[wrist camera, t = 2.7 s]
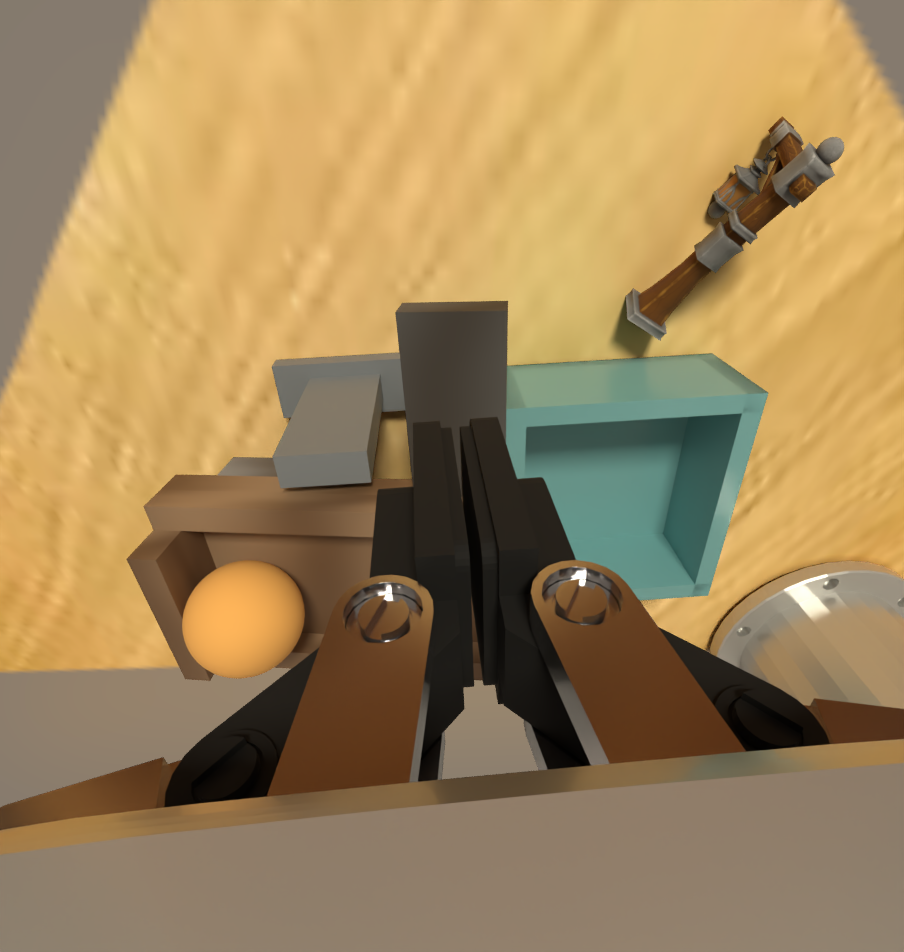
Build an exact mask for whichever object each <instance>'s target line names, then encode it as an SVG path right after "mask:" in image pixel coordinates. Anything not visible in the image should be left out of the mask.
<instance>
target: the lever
mask: <svg viewBox="0 0 904 952" xmlns="http://www.w3.org/2000/svg"><path fill="white" fill-rule="evenodd" d="M396 322H397V332H398V342H399V352H400V362H401V372H402V382H403V392H404V402H405V412H406V422H407V432H408V442H409V452H410V462H411V472H412V479H372V481H371V483H355V484H340V485H324V486H309V487H294V488H280V484H279V480H278V476H277V473H276V469H275V465H274V461H273V458H249V457H233V458H232V459H231V461H230V462H229V463H228V464H227V465H226V466H225V467H224V468H223V469H222V471H221V472H220V473H219V474H218V475H175V476H174V477H173V478H172V479H171V480H170V481H169V482H168V483H167V484H166V485H165V486H164V487H163V488H162V489H161V490H160V491H159V492H158V493H157V494H156V495H155V496H154V497H153V498H152V499H151V500H150V501H149V502H148V503H147V504H145V505H144V506H143V507H144V509H145V511H146V513H147V516H148V518H149V520H150V523H151V525H152V527H153V529H154V530H153V532H152V533H151V534H150V535H149V536H148V537H147V538H146V539H145V540H144V541H143V542H142V543H141V544H140V545H139V546H138V548H137V549H136V550H135V551H134V552H133V553H132V554H131V555H130V556H129V557H128V558H127V561H128V563H129V565H130V567H131V569H132V571H133V573H134V575H135V577H136V579H137V581H138V583H139V585H140V588H141V590H142V592H143V594H144V596H145V598H146V600H147V602H148V604H149V606H150V608H151V610H152V612H153V614H154V616H155V618H156V620H157V622H158V624H159V626H160V628H161V630H162V632H163V634H164V637H165V639H166V641H167V643H168V645H169V647H170V649H171V651H172V653H173V655H174V657H175V659H176V661H177V663H178V665H179V667H180V669H181V671H182V673H183V675H184V677H185V679H192V680H208V681H210V680H211V678H212V676H213V675H214V673H212V672H210V671H208V670H206V669H205V668H203V667H202V666H201V665H200V664H199V663H198V662H197V661H196V660H195V659H194V658H193V657H192V655H191V654H190V652H189V650H188V648H187V646H186V644H185V641H184V636H183V631H182V620H183V613H184V609H185V606H186V603H187V601H188V598H189V597H190V595H191V593H192V591H193V590H194V589H195V587H196V586H197V585H198V584H199V582H200V581H201V580H202V579H204V578H205V577H206V576H207V575H208V574H210V573H211V572H213V571H214V570H215V569H217V568H219V567H221V566H224V565H226V564H229V563H232V562H237V561H243V560H256V561H262V562H266V563H269V564H272V565H274V566H276V567H278V568H280V569H281V570H283V571H284V572H285V573H287V574H288V575H289V576H290V577H291V578H292V579H293V581H294V582H295V583H296V585H297V587H298V588H299V590H300V592H301V595H302V598H303V602H304V609H305V618H304V626H303V630H302V633H301V636H300V638H299V640H298V642H297V644H296V646H295V647H294V649H293V650H292V651H291V653H290V654H289V655H288V656H287V657H286V658H285V659H284V660H283V661H282V662H281V663H279V664H278V665H277V666H276V668H293V667H295V666H296V665H297V664H298V663H300V662H301V661H302V660H304V659H305V658H306V657H307V656H309V655H310V654H311V653H312V652H314V651H315V650H316V649H318V648H319V647H320V644H321V642H322V639H323V636H324V633H325V630H326V628H327V625H328V622H329V619H330V616H331V613H332V611H333V608H334V607H335V605H336V603H337V601H338V599H339V598H340V597H341V596H342V595H343V594H344V593H345V592H346V591H347V590H348V589H349V588H350V587H352V586H354V585H355V584H357V583H359V582H361V581H362V580H366V579H369V578H370V567H371V556H372V544H373V533H374V522H375V511H376V499H377V491H378V489H386V488H400V487H413V486H414V469H413V423H416V422H431V421H440V425H441V428H447V427H451V429H452V435H453V442H454V449H455V456H456V463H457V469H458V476H459V483H460V490H461V497H462V480H461V455H460V427H461V426H469V422H470V419H474V418H488V417H498V420H499V423H500V426H501V429H502V433H503V436H504V439H505V442H506V402H507V322H508V301H483V302H428V303H402V304H401V306H400V307H399V308H398V310H397V311H396ZM471 605H472V637H473V668H474V680H483V678H482V671H481V663H480V656H479V649H478V641H477V634H476V627H475V619H474V612H473V604H472V597H471Z"/></svg>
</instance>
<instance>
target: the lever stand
mask: <svg viewBox="0 0 904 952" xmlns="http://www.w3.org/2000/svg"><path fill="white" fill-rule="evenodd" d="M272 370H273V374H274V378H275V382H276V387H277V391H278V395H279V399H280V404H281V408H282V412H283V416H284V418H291V419H290V421H289V423H288V425H287V427H286V429H285V432H284V434H283V436H282V438H281V440H280V442H279V444H278V446H277V448H276V451H275V453H274V455H273V461H274V465H275V469H276V473H277V476H278V480H279V484H280V488H294V487H309V486H324V485H340V484H355V483H371V481H372V474H373V467H374V460H375V453H376V446H377V440H378V433H379V426H380V419H381V412H389V411H405V402H404V392H403V382H402V372H401V362H400V353H386V354H369V355H352V356H335V357H319V358H302V359H285V360H276V361H275V362H274V364H273V365H272Z"/></svg>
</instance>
